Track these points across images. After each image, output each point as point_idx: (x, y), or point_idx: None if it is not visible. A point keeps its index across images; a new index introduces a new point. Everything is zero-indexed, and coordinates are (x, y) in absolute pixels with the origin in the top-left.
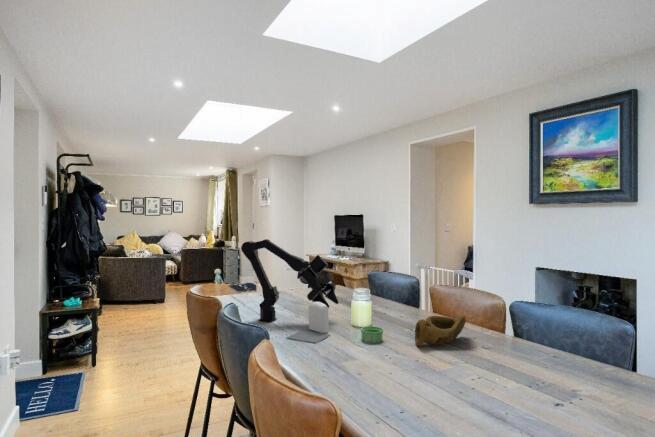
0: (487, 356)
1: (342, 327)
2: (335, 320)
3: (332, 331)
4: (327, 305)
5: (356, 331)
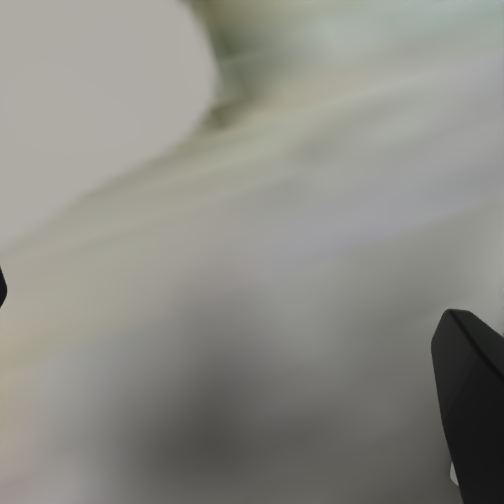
0: None
1: (302, 198)
2: (51, 363)
3: (483, 241)
4: (502, 351)
5: (379, 45)
